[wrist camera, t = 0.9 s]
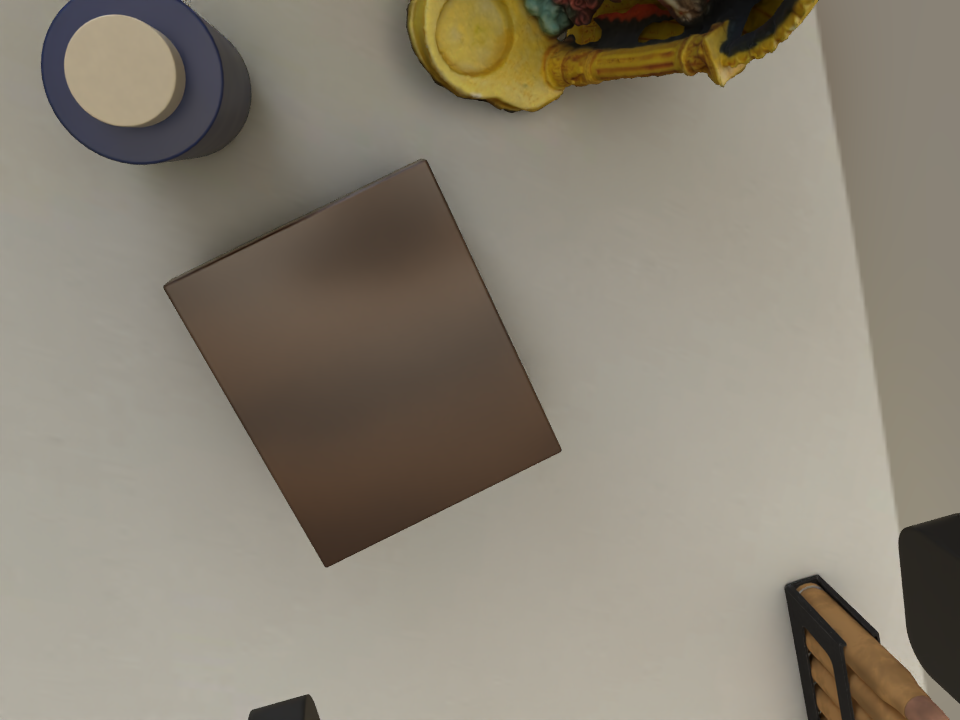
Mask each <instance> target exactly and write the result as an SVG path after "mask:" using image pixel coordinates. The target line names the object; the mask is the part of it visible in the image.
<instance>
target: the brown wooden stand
mask: <svg viewBox="0 0 960 720" xmlns="http://www.w3.org/2000/svg"><path fill="white" fill-rule="evenodd" d="M163 288H164V290H165V292H166V294H167V295H168V297H169V299H170V300H171V302H172V304H173V306H174V307H175V309H176V311H177V312H178V314H179V316H180V318H181V319H182V321H183V323H184V325H185V326H186V328H187V330H188V331H189V333H190V335H191V337H192V338H193V340H194V342H195V344H196V345H197V347H198V349H199V350H200V352H201V354H202V356H203V357H204V359H205V361H206V363H207V364H208V366H209V368H210V369H211V371H212V373H213V375H214V376H215V378H216V380H217V382H218V383H219V385H220V387H221V388H222V390H223V392H224V394H225V395H226V397H227V399H228V401H229V402H230V404H231V406H232V407H233V409H234V411H235V413H236V414H237V416H238V418H239V420H240V421H241V423H242V425H243V426H244V428H245V430H246V432H247V433H248V435H249V437H250V438H251V440H252V442H253V444H254V445H255V447H256V449H257V451H258V452H259V454H260V456H261V457H262V459H263V461H264V463H265V464H266V466H267V468H268V470H269V471H270V473H271V475H272V476H273V478H274V480H275V482H276V483H277V485H278V487H279V489H280V490H281V492H282V494H283V495H284V497H285V499H286V501H287V502H288V504H289V506H290V508H291V509H292V511H293V513H294V514H295V516H296V518H297V520H298V521H299V523H300V525H301V527H302V528H303V530H304V532H305V533H306V535H307V537H308V539H309V540H310V542H311V544H312V546H313V547H314V549H315V551H316V552H317V554H318V556H319V558H320V559H321V561H322V563H323V565H324V566H325V567H329V566H331V565H333V564H335V563H337V562H339V561H341V560H343V559H345V558H347V557H349V556H351V555H353V554H355V553H357V552H359V551H361V550H363V549H365V548H367V547H369V546H372V545H374V544H376V543H378V542H380V541H382V540H384V539H386V538H388V537H390V536H392V535H394V534H396V533H398V532H400V531H402V530H404V529H406V528H408V527H410V526H412V525H414V524H416V523H418V522H420V521H422V520H424V519H426V518H428V517H430V516H432V515H434V514H436V513H438V512H440V511H442V510H444V509H446V508H448V507H450V506H452V505H454V504H456V503H458V502H460V501H462V500H464V499H466V498H469V497H471V496H473V495H475V494H477V493H479V492H481V491H483V490H485V489H487V488H489V487H491V486H493V485H495V484H497V483H499V482H501V481H503V480H505V479H507V478H509V477H511V476H513V475H515V474H517V473H519V472H521V471H523V470H525V469H527V468H529V467H531V466H533V465H535V464H537V463H539V462H541V461H543V460H545V459H547V458H549V457H551V456H553V455H555V454H557V453H559V452H561V451H562V449H561V447H560V445H559V442H558V440H557V438H556V436H555V434H554V432H553V430H552V427H551V425H550V423H549V421H548V419H547V417H546V415H545V412H544V410H543V408H542V406H541V404H540V402H539V400H538V397H537V395H536V393H535V391H534V389H533V387H532V385H531V382H530V380H529V378H528V376H527V374H526V372H525V370H524V367H523V365H522V363H521V361H520V359H519V357H518V355H517V352H516V350H515V348H514V346H513V344H512V342H511V340H510V337H509V335H508V333H507V331H506V329H505V327H504V325H503V322H502V320H501V318H500V316H499V314H498V312H497V310H496V307H495V305H494V303H493V301H492V299H491V297H490V295H489V292H488V290H487V288H486V286H485V284H484V282H483V280H482V277H481V275H480V273H479V271H478V269H477V267H476V265H475V262H474V260H473V258H472V256H471V254H470V252H469V249H468V247H467V245H466V243H465V241H464V239H463V237H462V234H461V232H460V230H459V228H458V226H457V224H456V222H455V219H454V217H453V215H452V213H451V211H450V209H449V207H448V204H447V202H446V200H445V198H444V196H443V194H442V192H441V189H440V187H439V185H438V183H437V181H436V179H435V177H434V174H433V172H432V170H431V168H430V166H429V164H428V162H427V160H425V159H419V160H417V161H415V162H413V163H411V164H409V165H407V166H405V167H403V168H400V169H398V170H396V171H394V172H392V173H390V174H388V175H386V176H384V177H382V178H380V179H378V180H376V181H374V182H371V183H369V184H367V185H365V186H363V187H361V188H359V189H357V190H355V191H353V192H351V193H349V194H347V195H345V196H342V197H340V198H338V199H336V200H334V201H332V202H330V203H328V204H326V205H324V206H322V207H320V208H318V209H316V210H313V211H311V212H309V213H307V214H305V215H303V216H301V217H299V218H297V219H295V220H293V221H291V222H289V223H287V224H284V225H282V226H280V227H278V228H276V229H274V230H272V231H270V232H268V233H266V234H264V235H262V236H260V237H258V238H255V239H253V240H251V241H249V242H247V243H245V244H243V245H241V246H239V247H237V248H235V249H233V250H231V251H229V252H226V253H224V254H222V255H220V256H218V257H216V258H214V259H212V260H210V261H208V262H206V263H204V264H202V265H200V266H197V267H195V268H193V269H191V270H189V271H187V272H185V273H183V274H181V275H179V276H177V277H175V278H173V279H171V280H170V281H169V282H167V283H166V284H165V285H164V286H163Z"/></svg>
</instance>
